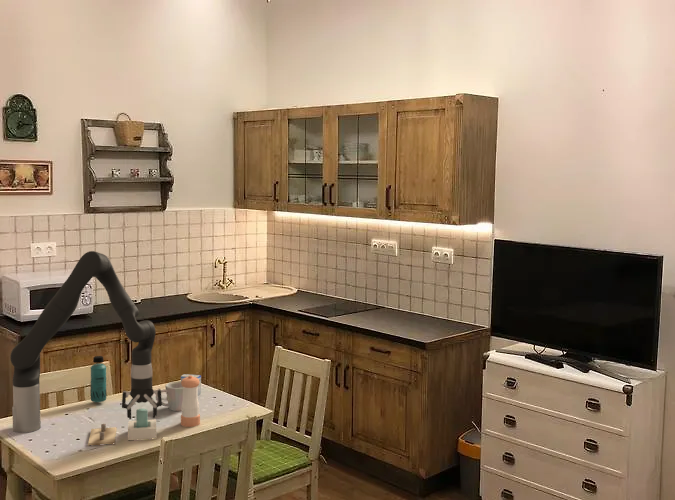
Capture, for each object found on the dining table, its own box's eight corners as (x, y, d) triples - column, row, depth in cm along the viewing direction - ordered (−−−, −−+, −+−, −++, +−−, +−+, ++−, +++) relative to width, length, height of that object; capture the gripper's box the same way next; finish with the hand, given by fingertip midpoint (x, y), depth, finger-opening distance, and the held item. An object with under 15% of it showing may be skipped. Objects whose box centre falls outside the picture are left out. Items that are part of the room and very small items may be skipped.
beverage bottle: (87, 403, 311) (86, 356, 309) (102, 399, 316) (101, 353, 314) (95, 406, 307) (94, 359, 304) (110, 403, 311) (109, 356, 309)
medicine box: (180, 395, 324) (180, 376, 323) (184, 392, 328) (183, 373, 327) (197, 397, 322) (197, 377, 321) (201, 393, 327) (201, 374, 326)
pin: (136, 436, 274) (136, 412, 273) (136, 432, 277) (136, 408, 276) (147, 435, 275) (147, 411, 274) (147, 431, 278) (147, 408, 277)
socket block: (127, 440, 270) (127, 430, 270) (128, 431, 280) (128, 420, 279) (156, 438, 272) (156, 428, 272) (156, 429, 282) (156, 419, 282)
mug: (195, 409, 306) (195, 385, 305) (160, 415, 297) (160, 391, 296) (185, 402, 314) (185, 379, 313) (151, 408, 306) (150, 384, 305)
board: (88, 446, 264) (88, 436, 264) (91, 431, 279) (91, 422, 278) (114, 444, 267) (114, 434, 266) (116, 429, 281) (116, 420, 281)
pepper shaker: (199, 426, 286) (199, 378, 284) (180, 427, 285) (180, 378, 283) (200, 420, 293) (200, 372, 291) (181, 420, 292) (181, 373, 290)
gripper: (161, 371, 279) (161, 413, 281) (121, 373, 275) (122, 415, 277) (161, 377, 272) (162, 420, 273) (121, 379, 268) (121, 422, 270)
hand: (142, 417), depth 275 cm, fingers open, 8 cm apart
